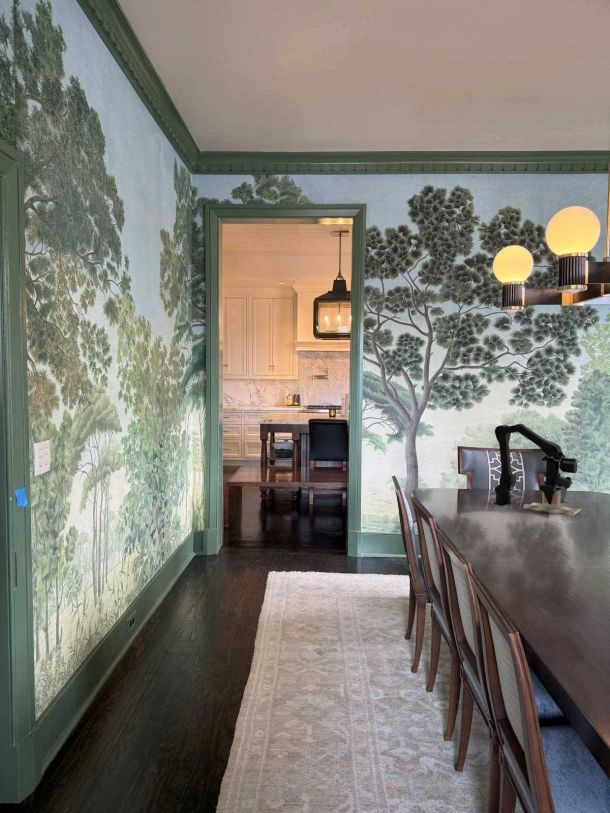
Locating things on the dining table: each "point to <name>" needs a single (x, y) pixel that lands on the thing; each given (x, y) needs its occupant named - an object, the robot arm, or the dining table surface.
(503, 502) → the robot arm
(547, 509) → the shelf board
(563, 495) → the flower pot
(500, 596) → the dining table surface
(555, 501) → the carton
